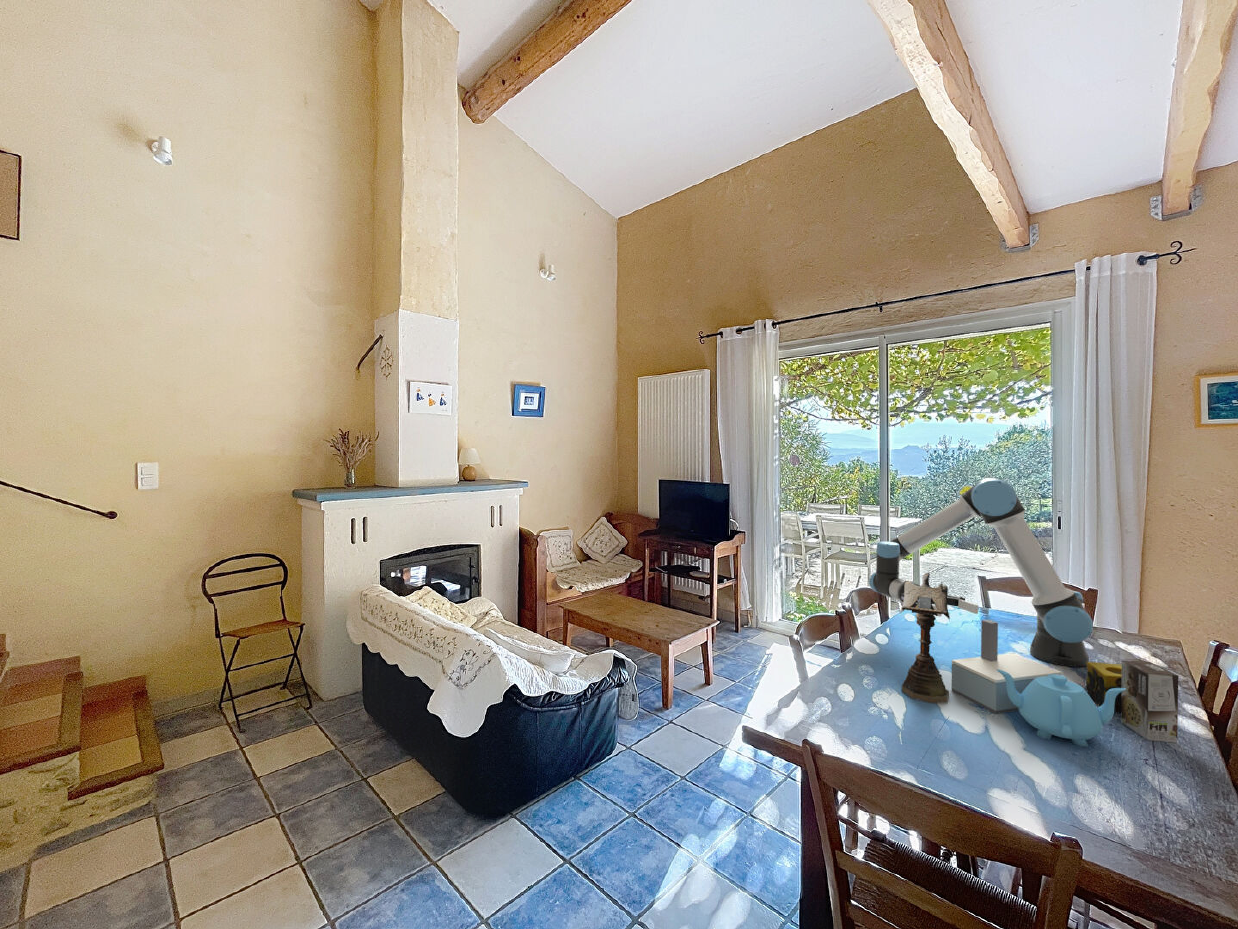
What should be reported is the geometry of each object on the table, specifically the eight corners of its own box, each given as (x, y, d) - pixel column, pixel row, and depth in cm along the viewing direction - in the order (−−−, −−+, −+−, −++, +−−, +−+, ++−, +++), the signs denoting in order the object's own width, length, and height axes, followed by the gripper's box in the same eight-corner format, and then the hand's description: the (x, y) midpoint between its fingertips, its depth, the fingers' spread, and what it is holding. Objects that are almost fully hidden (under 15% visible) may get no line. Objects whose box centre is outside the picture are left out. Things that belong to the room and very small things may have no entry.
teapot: (1126, 747, 124) (1127, 687, 124) (1056, 755, 121) (1057, 694, 120) (1057, 713, 140) (1058, 660, 140) (994, 720, 137) (994, 666, 136)
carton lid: (1013, 655, 158) (1013, 616, 158) (1062, 675, 144) (1062, 632, 144) (951, 662, 153) (952, 622, 153) (996, 683, 140) (996, 638, 139)
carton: (1012, 683, 158) (1013, 656, 158) (1061, 704, 145) (1061, 675, 144) (951, 690, 153) (951, 663, 153) (995, 714, 140) (996, 683, 140)
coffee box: (1179, 743, 125) (1180, 676, 125) (1147, 740, 127) (1148, 673, 126) (1149, 724, 134) (1150, 661, 134) (1119, 721, 136) (1120, 659, 135)
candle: (1130, 700, 147) (1130, 665, 147) (1153, 718, 137) (1153, 679, 137) (1084, 695, 150) (1085, 660, 150) (1104, 712, 141) (1104, 674, 141)
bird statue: (953, 716, 139) (954, 583, 138) (897, 702, 146) (898, 576, 145) (956, 692, 152) (958, 571, 151) (905, 681, 160) (906, 565, 159)
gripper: (937, 601, 187) (991, 620, 166) (875, 605, 181) (924, 625, 161) (937, 580, 187) (992, 596, 166) (876, 583, 181) (925, 601, 160)
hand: (959, 610), depth 163 cm, fingers open, 13 cm apart
